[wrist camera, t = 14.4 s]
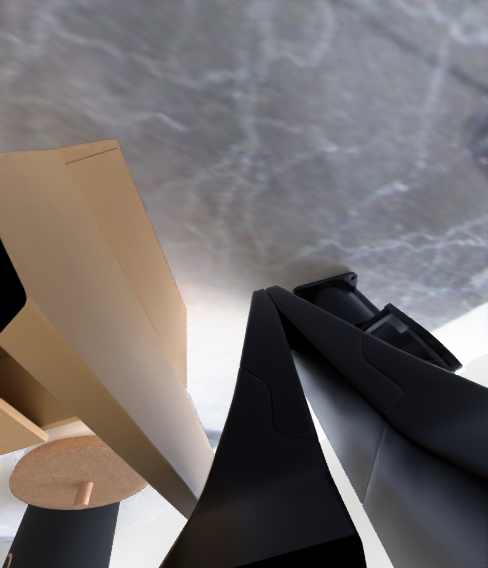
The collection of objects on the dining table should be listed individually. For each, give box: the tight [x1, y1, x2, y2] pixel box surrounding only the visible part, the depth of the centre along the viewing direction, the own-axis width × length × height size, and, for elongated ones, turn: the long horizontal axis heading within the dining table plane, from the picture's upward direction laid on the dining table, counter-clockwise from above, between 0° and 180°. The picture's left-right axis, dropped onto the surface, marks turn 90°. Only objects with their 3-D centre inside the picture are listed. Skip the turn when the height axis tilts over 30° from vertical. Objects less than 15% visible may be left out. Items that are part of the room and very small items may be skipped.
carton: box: [0, 138, 187, 455], centre depth 15 cm, size 17×14×9 cm
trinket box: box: [9, 420, 148, 510], centre depth 23 cm, size 11×11×9 cm
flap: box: [0, 150, 214, 520], centre depth 8 cm, size 8×14×1 cm
